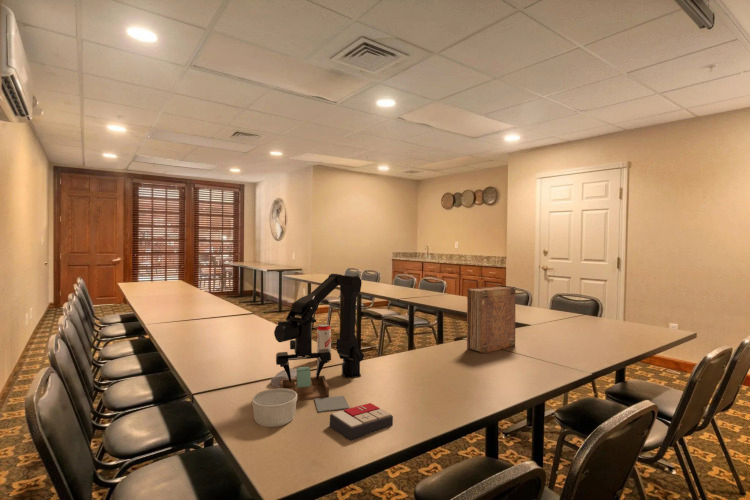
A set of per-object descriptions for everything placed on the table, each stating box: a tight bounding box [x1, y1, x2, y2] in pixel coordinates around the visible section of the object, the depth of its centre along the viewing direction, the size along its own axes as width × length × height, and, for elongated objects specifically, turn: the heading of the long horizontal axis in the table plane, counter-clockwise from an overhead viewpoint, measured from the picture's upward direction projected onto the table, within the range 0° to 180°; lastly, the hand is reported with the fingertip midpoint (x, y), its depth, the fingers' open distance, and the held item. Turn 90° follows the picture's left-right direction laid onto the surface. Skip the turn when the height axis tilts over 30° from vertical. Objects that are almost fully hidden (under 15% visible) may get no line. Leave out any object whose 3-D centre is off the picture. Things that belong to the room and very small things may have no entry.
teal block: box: [296, 366, 312, 388], centre depth 137 cm, size 4×4×6 cm
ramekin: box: [251, 387, 298, 428], centre depth 117 cm, size 13×13×7 cm
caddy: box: [279, 375, 330, 402], centre depth 137 cm, size 16×12×4 cm
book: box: [466, 285, 517, 354], centre depth 195 cm, size 25×9×30 cm, turn 123°
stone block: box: [270, 368, 297, 388], centre depth 149 cm, size 12×5×10 cm
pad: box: [314, 395, 351, 413], centre depth 128 cm, size 10×10×1 cm
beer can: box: [316, 323, 332, 363], centre depth 175 cm, size 6×6×16 cm
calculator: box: [329, 402, 394, 442], centre depth 113 cm, size 11×4×15 cm
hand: (303, 380), depth 137 cm, fingers open, 9 cm apart
